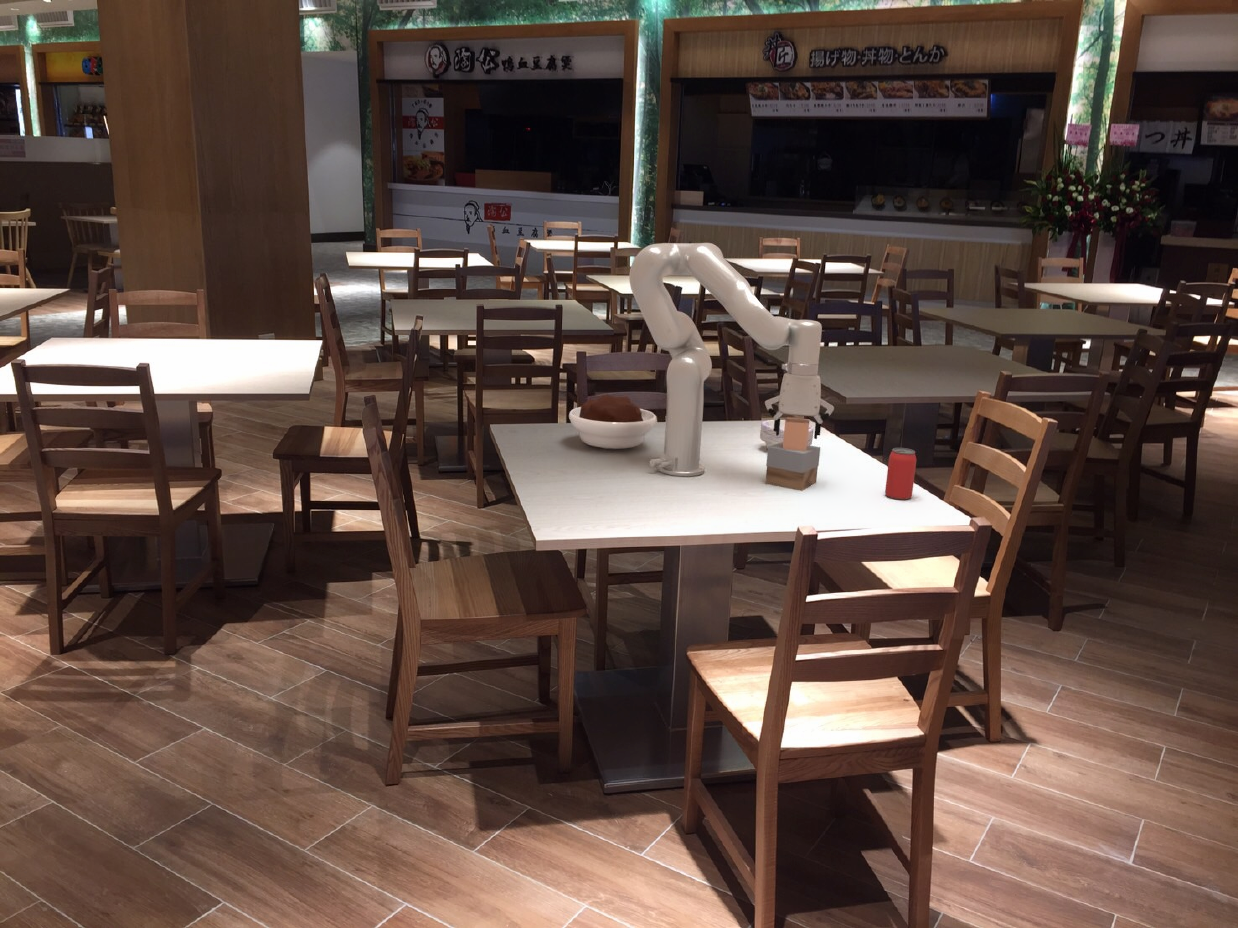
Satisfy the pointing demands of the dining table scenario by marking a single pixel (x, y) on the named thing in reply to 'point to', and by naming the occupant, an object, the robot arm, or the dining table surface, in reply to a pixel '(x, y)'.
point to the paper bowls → (770, 435)
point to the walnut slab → (791, 478)
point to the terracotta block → (796, 434)
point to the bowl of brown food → (611, 422)
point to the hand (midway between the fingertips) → (796, 436)
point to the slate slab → (793, 458)
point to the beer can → (900, 473)
